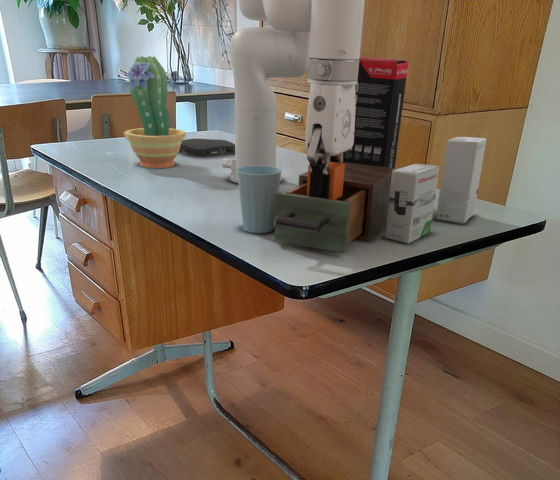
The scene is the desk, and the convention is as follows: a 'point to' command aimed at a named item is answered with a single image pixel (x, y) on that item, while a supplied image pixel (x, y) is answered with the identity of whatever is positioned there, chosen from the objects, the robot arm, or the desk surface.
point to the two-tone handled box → (320, 218)
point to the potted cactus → (152, 115)
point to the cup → (258, 196)
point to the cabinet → (378, 193)
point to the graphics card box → (377, 112)
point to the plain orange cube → (332, 180)
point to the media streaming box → (206, 147)
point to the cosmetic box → (460, 179)
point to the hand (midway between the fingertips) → (324, 194)
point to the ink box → (411, 202)
